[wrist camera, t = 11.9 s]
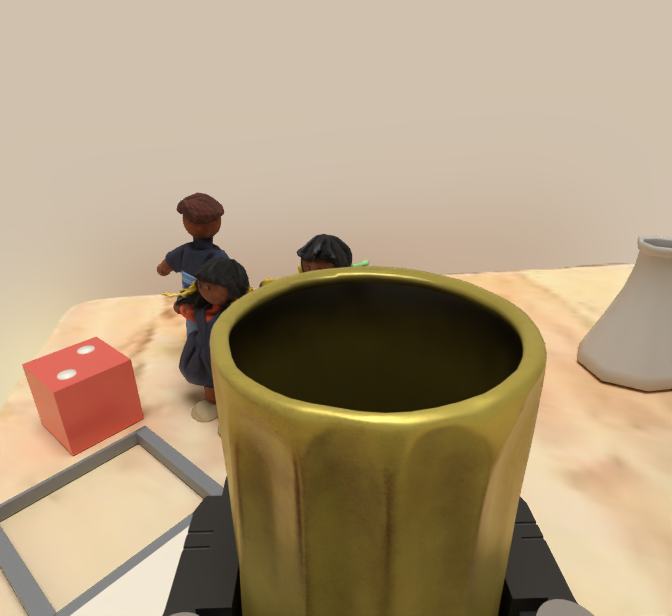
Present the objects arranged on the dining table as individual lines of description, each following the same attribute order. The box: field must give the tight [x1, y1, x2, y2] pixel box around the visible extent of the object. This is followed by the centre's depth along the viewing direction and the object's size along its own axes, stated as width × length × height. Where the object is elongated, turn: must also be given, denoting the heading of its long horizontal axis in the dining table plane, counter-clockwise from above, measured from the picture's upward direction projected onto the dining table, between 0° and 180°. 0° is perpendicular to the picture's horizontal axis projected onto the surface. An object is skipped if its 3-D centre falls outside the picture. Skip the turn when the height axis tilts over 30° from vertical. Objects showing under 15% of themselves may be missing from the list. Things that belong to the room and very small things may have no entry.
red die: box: [23, 337, 144, 456], centre depth 30 cm, size 4×4×5 cm
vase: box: [210, 266, 547, 616], centre depth 11 cm, size 6×6×14 cm
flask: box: [577, 236, 672, 391], centre depth 34 cm, size 7×7×10 cm
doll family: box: [157, 193, 370, 436], centre depth 29 cm, size 23×9×13 cm, turn 66°
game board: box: [0, 426, 224, 616], centre depth 19 cm, size 9×24×1 cm, turn 50°
